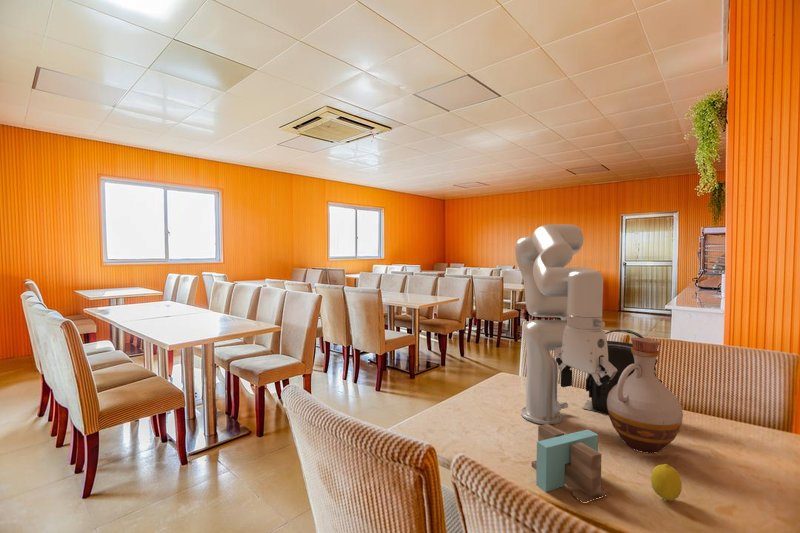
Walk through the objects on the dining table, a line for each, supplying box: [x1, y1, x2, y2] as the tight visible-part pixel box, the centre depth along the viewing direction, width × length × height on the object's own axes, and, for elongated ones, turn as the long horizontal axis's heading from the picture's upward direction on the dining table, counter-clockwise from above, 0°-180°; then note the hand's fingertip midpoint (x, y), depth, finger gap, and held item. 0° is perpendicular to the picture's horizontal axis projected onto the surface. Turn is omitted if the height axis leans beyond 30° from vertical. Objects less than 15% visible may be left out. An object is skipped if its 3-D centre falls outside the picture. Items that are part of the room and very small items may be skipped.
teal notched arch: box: [535, 428, 599, 493], centre depth 93 cm, size 16×3×10 cm, turn 113°
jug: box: [607, 336, 684, 454], centre depth 108 cm, size 20×18×30 cm
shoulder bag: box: [582, 328, 663, 415], centre depth 131 cm, size 23×9×28 cm, turn 54°
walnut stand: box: [531, 424, 608, 502], centre depth 93 cm, size 7×16×10 cm, turn 23°
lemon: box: [650, 463, 683, 501], centre depth 86 cm, size 6×6×8 cm
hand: (582, 393), depth 94 cm, fingers open, 9 cm apart
